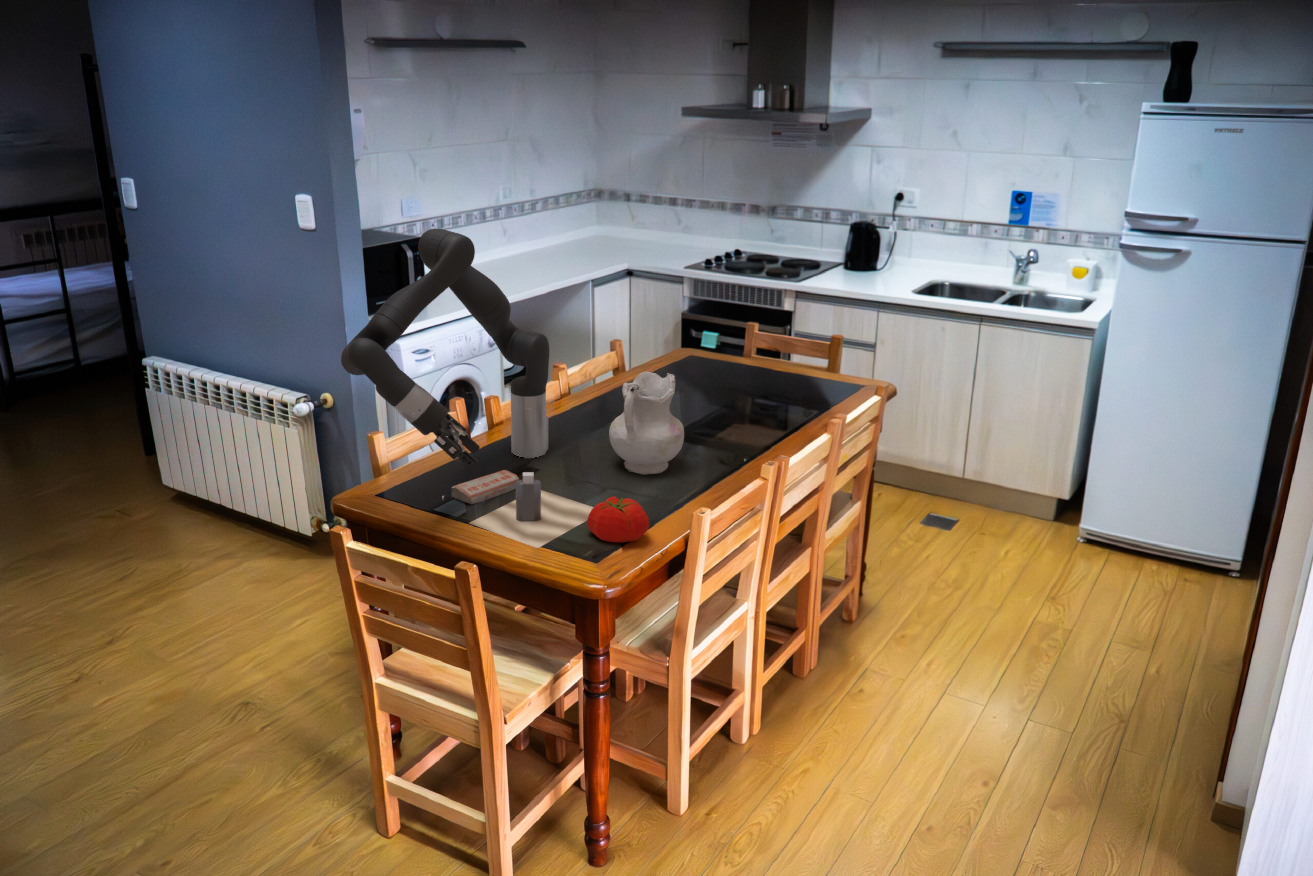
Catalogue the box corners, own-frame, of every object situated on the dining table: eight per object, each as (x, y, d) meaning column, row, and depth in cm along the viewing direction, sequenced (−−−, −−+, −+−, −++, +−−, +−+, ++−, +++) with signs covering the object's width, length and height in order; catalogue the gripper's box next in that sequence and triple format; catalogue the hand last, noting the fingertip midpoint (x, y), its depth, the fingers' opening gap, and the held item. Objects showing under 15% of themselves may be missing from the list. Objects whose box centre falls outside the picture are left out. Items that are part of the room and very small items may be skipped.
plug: (516, 515, 230) (515, 471, 226) (540, 515, 230) (540, 471, 226) (516, 521, 227) (515, 476, 223) (541, 521, 227) (540, 476, 223)
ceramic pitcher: (670, 491, 251) (682, 398, 242) (595, 477, 254) (604, 384, 245) (685, 460, 271) (697, 373, 262) (615, 447, 274) (624, 360, 265)
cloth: (537, 493, 244) (537, 488, 244) (604, 515, 234) (604, 510, 234) (468, 527, 226) (468, 523, 225) (537, 553, 215) (537, 548, 215)
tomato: (648, 525, 230) (649, 490, 227) (649, 550, 219) (650, 514, 216) (587, 523, 230) (588, 488, 227) (585, 549, 218) (586, 512, 215)
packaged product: (501, 464, 249) (527, 476, 243) (501, 482, 251) (527, 495, 245) (440, 483, 237) (466, 497, 231) (441, 502, 239) (466, 516, 232)
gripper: (429, 408, 209) (486, 458, 215) (435, 386, 222) (489, 435, 228) (404, 432, 210) (461, 481, 216) (412, 409, 224) (466, 456, 229)
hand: (475, 457), depth 222 cm, fingers open, 8 cm apart
